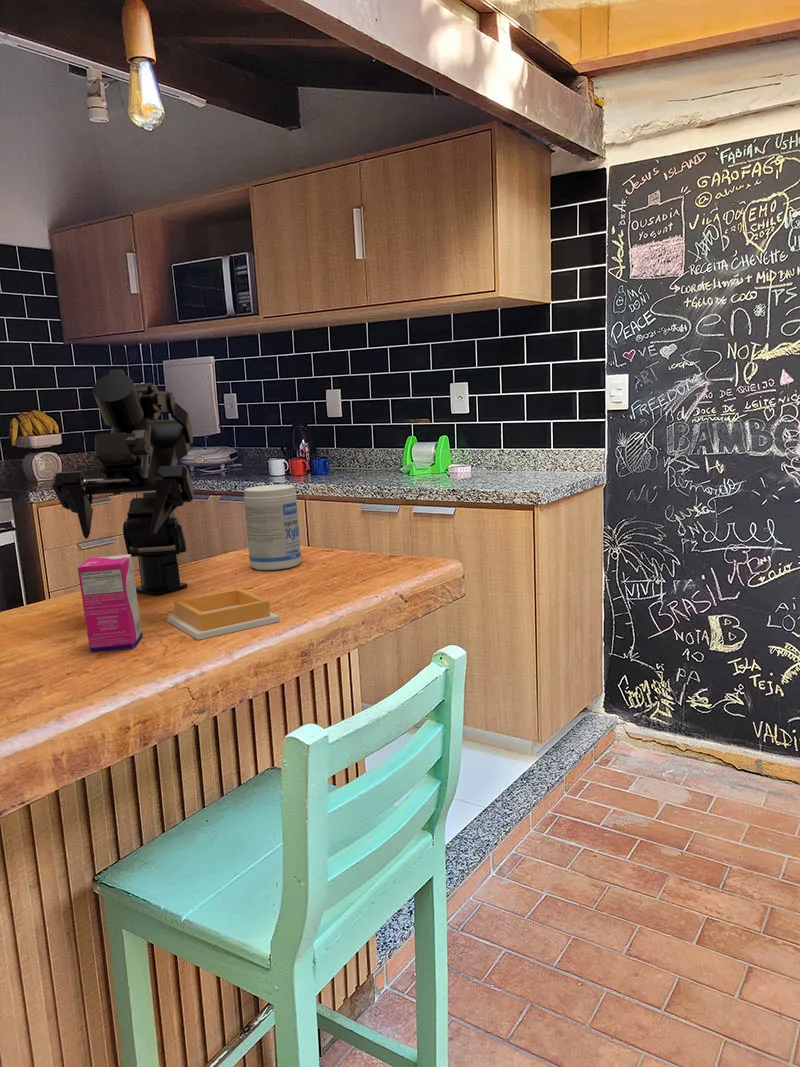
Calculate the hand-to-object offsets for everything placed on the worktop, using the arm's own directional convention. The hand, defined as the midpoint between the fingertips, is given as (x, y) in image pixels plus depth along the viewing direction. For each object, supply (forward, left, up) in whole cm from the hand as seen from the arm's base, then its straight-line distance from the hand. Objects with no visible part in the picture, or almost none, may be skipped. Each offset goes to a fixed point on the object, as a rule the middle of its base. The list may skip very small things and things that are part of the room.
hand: (119, 534), depth 113 cm
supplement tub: (-10, +38, -14) cm, 42 cm away
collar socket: (+10, +8, -13) cm, 19 cm away
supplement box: (+5, -6, -14) cm, 16 cm away
